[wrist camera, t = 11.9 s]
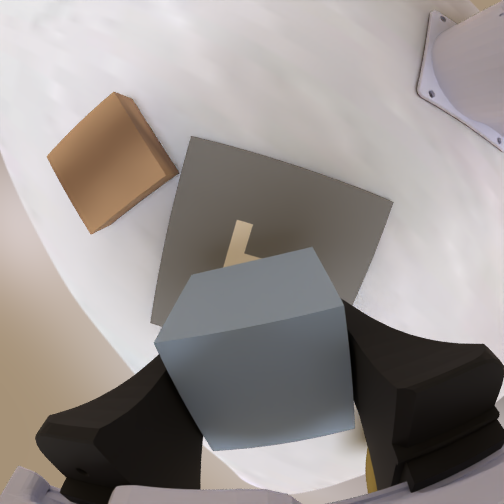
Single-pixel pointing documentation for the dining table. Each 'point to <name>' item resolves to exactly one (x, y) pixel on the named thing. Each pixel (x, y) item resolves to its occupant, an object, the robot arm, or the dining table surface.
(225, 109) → the dining table surface
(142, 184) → the walnut block
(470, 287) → the dining table surface
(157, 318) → the letter mat
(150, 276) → the dining table surface
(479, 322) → the dining table surface
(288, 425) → the blue cube
